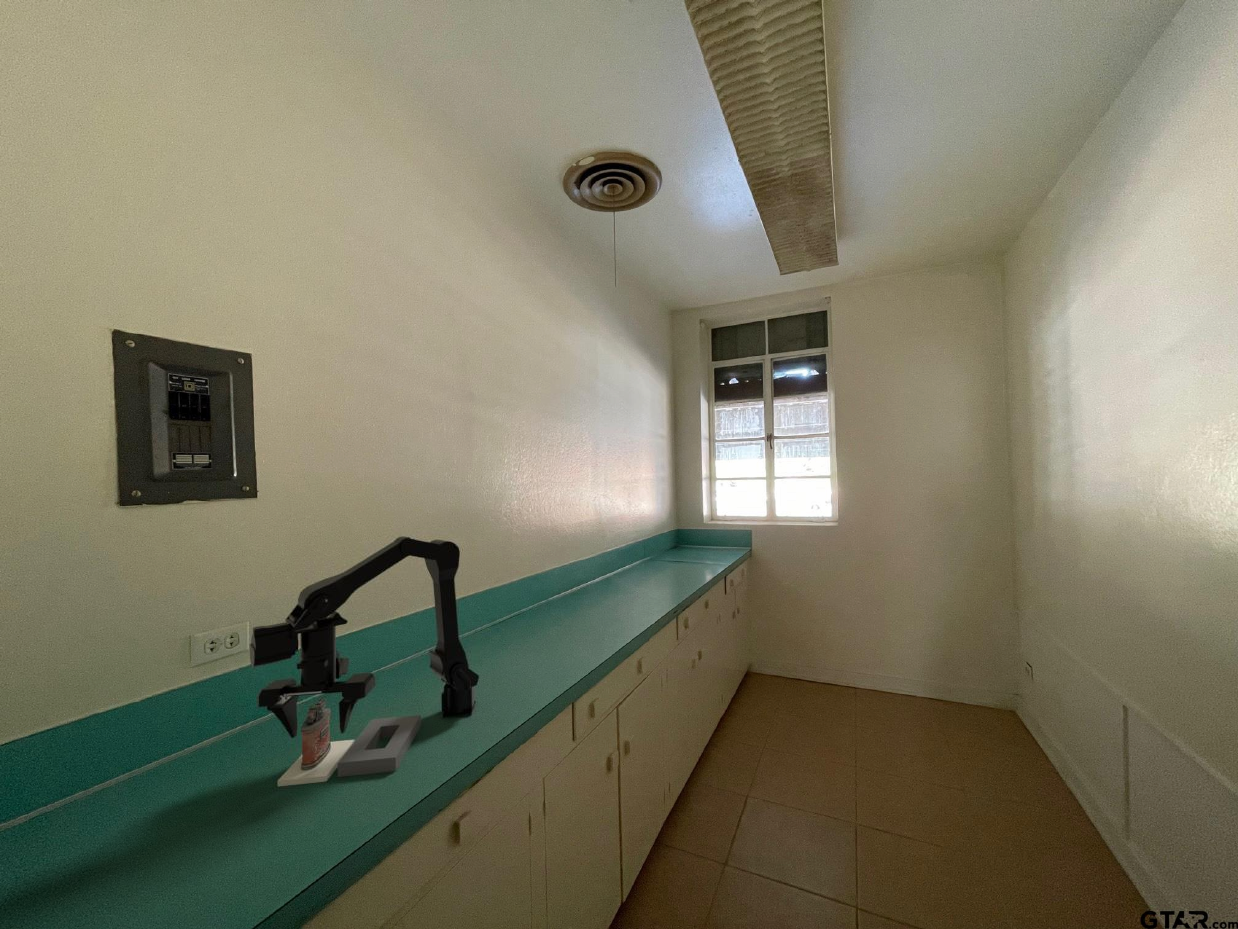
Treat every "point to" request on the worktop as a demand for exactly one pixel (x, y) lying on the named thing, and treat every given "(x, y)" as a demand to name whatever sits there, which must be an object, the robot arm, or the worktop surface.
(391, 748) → the grey rectangular frame
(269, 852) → the worktop surface
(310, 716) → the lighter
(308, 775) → the rubber mat
